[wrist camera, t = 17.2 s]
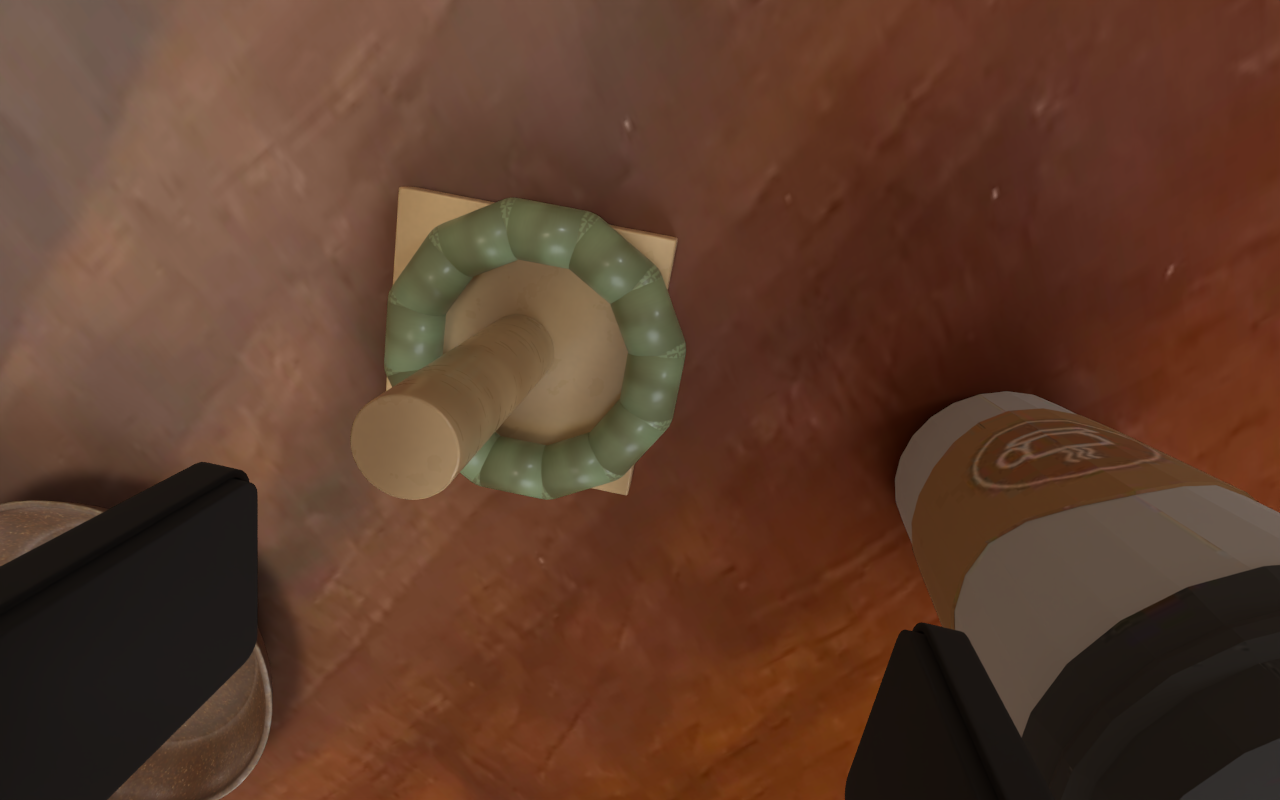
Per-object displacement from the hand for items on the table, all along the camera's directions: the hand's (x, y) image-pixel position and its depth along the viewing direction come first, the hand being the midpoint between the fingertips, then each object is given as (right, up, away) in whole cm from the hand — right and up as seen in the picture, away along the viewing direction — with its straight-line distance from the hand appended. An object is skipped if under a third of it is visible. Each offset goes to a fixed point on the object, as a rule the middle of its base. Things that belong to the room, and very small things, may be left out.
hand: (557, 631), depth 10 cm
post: (-3, +5, +14) cm, 15 cm away
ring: (-2, +5, +12) cm, 13 cm away
